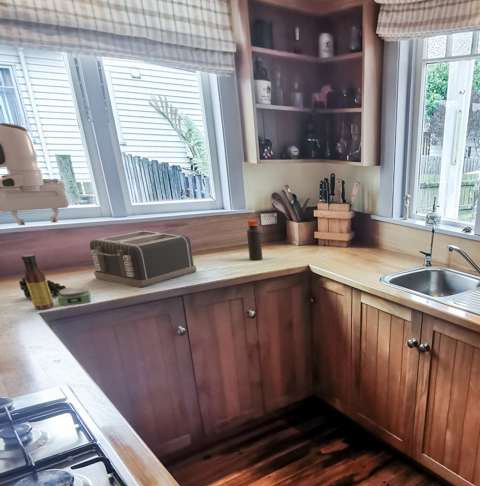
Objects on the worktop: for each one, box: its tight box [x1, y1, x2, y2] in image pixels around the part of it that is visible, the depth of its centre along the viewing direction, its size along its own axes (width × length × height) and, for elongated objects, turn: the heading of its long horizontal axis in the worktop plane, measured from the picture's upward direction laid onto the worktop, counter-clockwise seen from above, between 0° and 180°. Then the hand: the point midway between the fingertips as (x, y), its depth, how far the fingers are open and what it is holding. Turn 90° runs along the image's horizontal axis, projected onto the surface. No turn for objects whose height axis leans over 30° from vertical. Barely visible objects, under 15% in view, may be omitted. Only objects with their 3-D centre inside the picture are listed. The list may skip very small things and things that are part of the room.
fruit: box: [18, 276, 67, 299], centre depth 184 cm, size 9×8×15 cm
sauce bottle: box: [20, 253, 55, 310], centre depth 170 cm, size 6×6×20 cm
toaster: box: [89, 230, 197, 289], centre depth 211 cm, size 30×36×17 cm
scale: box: [57, 287, 92, 306], centre depth 181 cm, size 10×11×3 cm
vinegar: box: [246, 219, 263, 261], centre depth 245 cm, size 7×7×20 cm
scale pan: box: [59, 286, 88, 296], centre depth 181 cm, size 9×9×1 cm
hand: (38, 223), depth 156 cm, fingers open, 8 cm apart
